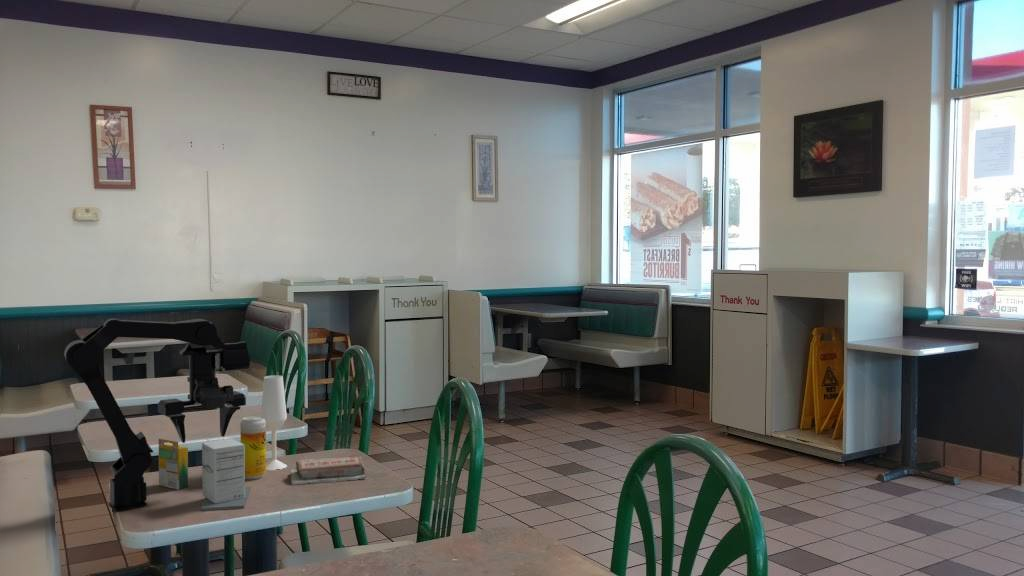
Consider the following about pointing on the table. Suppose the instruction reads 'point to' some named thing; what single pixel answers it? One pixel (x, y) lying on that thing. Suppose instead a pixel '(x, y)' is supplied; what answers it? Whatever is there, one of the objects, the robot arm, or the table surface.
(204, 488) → the supplement box
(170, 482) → the crayon box
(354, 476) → the packaged product
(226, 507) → the mat
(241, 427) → the beer can
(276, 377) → the champagne flute
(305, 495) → the table surface
